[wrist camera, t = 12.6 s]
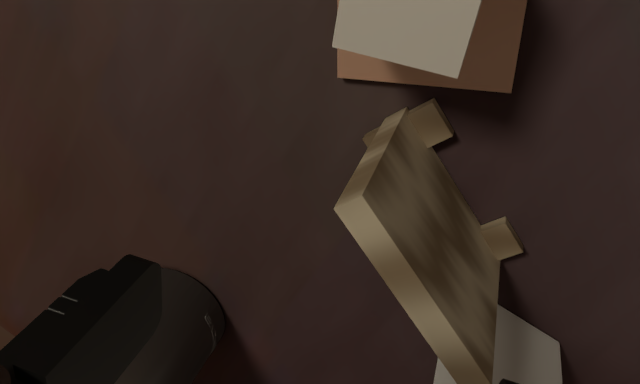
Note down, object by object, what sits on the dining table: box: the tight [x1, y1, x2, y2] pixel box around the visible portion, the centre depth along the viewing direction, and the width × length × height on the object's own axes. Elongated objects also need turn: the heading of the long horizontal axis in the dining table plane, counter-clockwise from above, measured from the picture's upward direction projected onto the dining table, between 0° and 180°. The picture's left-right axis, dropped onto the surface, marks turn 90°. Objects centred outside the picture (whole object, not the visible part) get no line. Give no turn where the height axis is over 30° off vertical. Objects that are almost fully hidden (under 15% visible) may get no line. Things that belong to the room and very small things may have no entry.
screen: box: [333, 98, 523, 384], centre depth 30 cm, size 12×5×11 cm, turn 36°
